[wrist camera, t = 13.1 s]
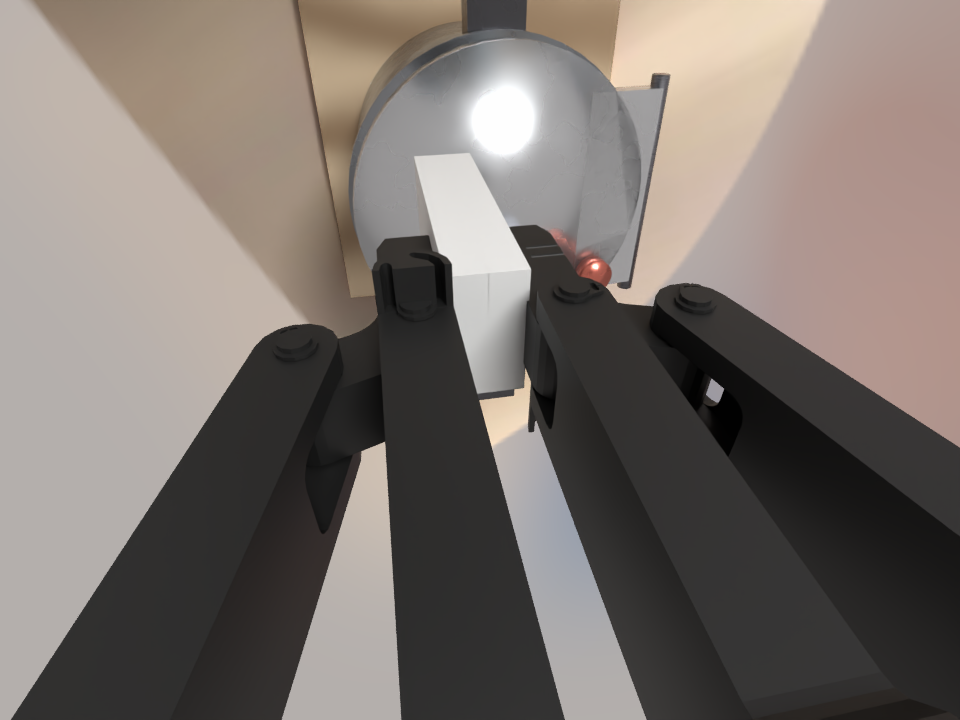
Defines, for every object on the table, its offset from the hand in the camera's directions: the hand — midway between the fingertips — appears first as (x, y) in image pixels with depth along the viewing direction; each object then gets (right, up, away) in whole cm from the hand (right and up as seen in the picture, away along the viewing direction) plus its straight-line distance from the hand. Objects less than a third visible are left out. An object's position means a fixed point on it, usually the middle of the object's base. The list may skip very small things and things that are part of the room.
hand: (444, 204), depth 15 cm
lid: (+2, +3, +12) cm, 13 cm away
